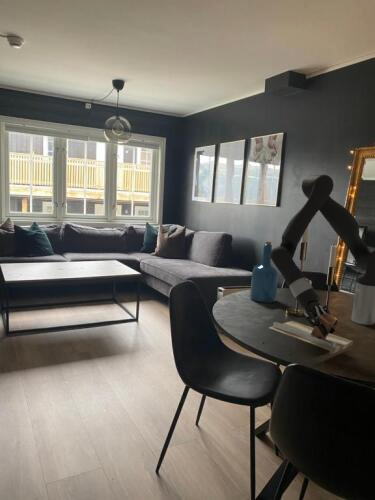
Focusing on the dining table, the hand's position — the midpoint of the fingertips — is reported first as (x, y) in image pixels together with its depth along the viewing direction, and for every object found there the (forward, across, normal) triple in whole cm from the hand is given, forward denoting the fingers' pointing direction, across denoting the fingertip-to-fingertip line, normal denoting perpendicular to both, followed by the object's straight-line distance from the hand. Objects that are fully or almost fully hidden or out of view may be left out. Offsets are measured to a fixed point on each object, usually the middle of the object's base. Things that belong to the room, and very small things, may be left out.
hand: (329, 333), depth 136 cm
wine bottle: (-34, +30, +41) cm, 61 cm away
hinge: (-31, +61, +39) cm, 79 cm away
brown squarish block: (-1, 0, +5) cm, 5 cm away
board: (-3, +2, +10) cm, 10 cm away
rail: (-4, -3, +9) cm, 10 cm away
